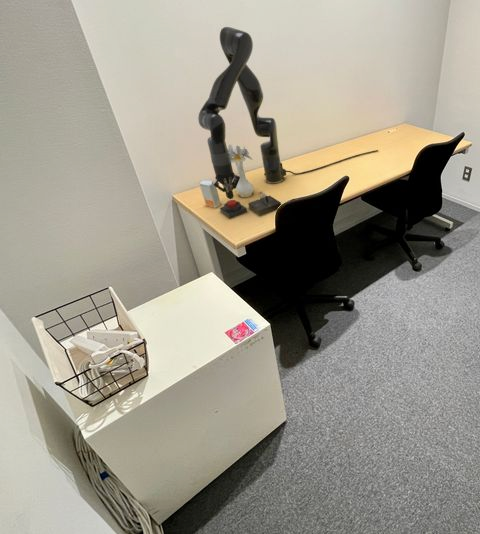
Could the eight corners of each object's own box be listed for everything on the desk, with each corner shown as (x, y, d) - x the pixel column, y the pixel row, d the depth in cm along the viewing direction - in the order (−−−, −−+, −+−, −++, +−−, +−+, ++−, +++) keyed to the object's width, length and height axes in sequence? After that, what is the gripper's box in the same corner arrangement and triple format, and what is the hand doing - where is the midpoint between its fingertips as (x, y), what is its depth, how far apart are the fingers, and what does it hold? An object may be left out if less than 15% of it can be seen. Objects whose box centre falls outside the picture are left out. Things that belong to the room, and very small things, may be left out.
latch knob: (269, 204, 157) (267, 195, 154) (266, 205, 156) (264, 196, 153) (262, 200, 160) (261, 191, 157) (260, 201, 159) (258, 192, 156)
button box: (237, 205, 161) (236, 198, 159) (247, 212, 157) (245, 204, 154) (220, 211, 157) (218, 204, 154) (230, 218, 152) (227, 211, 149)
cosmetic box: (205, 206, 161) (198, 183, 153) (211, 202, 164) (204, 179, 156) (215, 208, 159) (209, 185, 152) (221, 204, 162) (215, 181, 155)
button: (234, 202, 157) (233, 198, 156) (238, 205, 154) (238, 202, 153) (225, 205, 154) (224, 201, 153) (230, 208, 152) (229, 205, 151)
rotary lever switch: (270, 200, 166) (269, 195, 164) (281, 207, 160) (280, 202, 158) (249, 208, 159) (248, 202, 157) (260, 216, 154) (259, 210, 152)
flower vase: (246, 185, 179) (236, 138, 164) (265, 196, 169) (256, 147, 154) (224, 192, 172) (211, 144, 156) (242, 204, 162) (231, 154, 146)
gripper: (210, 168, 135) (221, 205, 146) (239, 160, 142) (247, 196, 153) (202, 163, 139) (213, 200, 150) (231, 155, 147) (239, 191, 158)
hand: (230, 198), depth 152 cm, fingers closed
